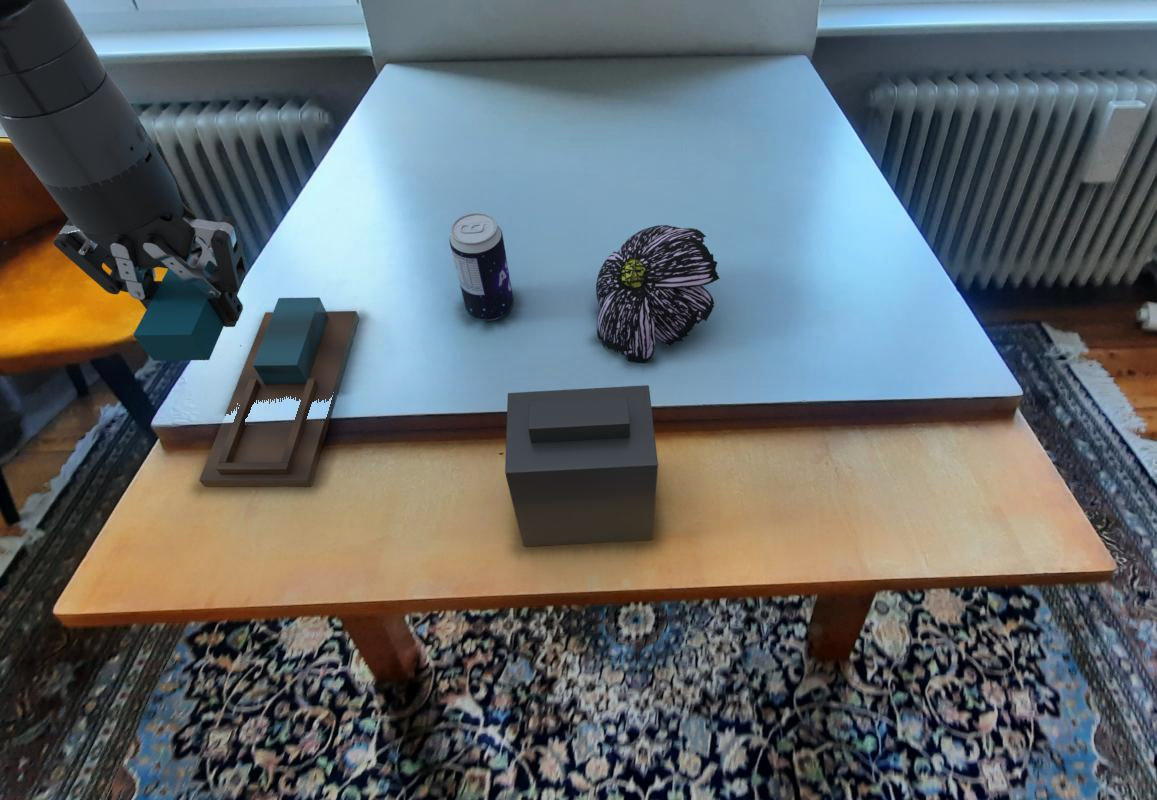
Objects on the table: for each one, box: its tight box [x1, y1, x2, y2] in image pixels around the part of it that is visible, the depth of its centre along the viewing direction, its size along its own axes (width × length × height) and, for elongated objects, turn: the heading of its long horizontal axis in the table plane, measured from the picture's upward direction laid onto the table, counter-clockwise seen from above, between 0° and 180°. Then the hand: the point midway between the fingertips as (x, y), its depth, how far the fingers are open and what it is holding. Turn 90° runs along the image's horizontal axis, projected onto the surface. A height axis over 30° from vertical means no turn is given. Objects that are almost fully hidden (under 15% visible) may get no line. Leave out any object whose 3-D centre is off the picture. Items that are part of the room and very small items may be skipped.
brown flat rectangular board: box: [198, 296, 360, 487], centre depth 78 cm, size 23×11×4 cm, turn 178°
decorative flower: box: [595, 224, 720, 364], centre depth 81 cm, size 15×12×15 cm
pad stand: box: [504, 384, 659, 547], centre depth 64 cm, size 12×8×15 cm, turn 92°
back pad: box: [132, 252, 246, 362], centre depth 62 cm, size 10×5×3 cm, turn 178°
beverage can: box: [448, 212, 514, 321], centre depth 82 cm, size 6×6×12 cm
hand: (203, 319), depth 64 cm, fingers closed on back pad, 4 cm apart
